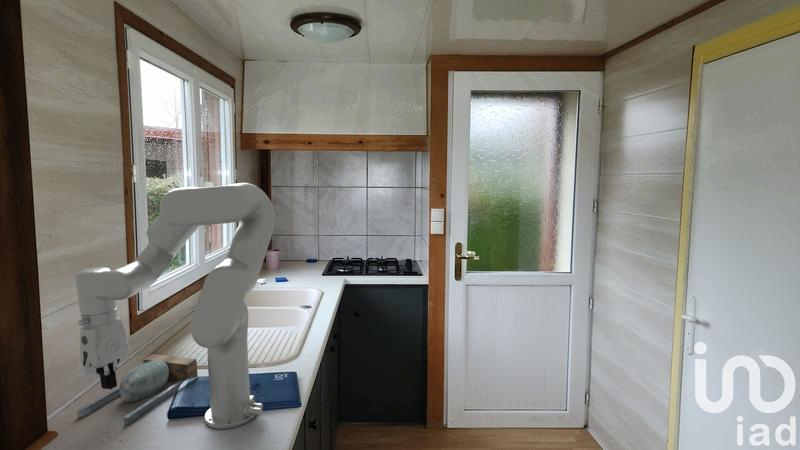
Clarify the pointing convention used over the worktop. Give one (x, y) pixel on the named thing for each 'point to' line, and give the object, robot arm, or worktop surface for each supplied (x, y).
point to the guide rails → (137, 412)
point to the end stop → (176, 366)
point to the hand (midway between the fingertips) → (109, 387)
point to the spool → (144, 380)
